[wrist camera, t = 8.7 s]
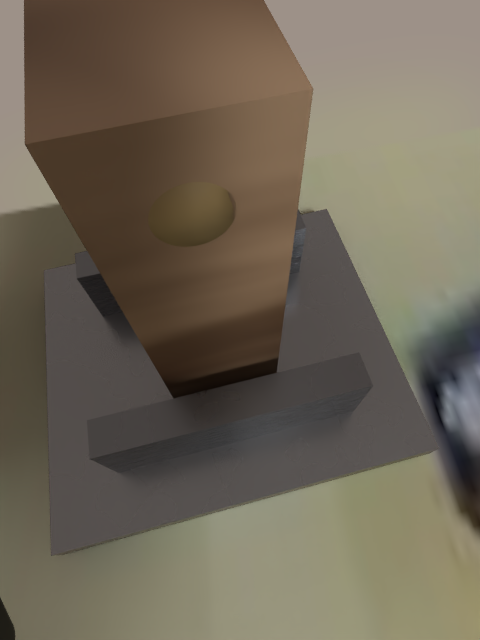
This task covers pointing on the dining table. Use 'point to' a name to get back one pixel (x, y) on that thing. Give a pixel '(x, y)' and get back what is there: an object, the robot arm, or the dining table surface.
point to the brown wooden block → (175, 168)
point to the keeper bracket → (217, 405)
